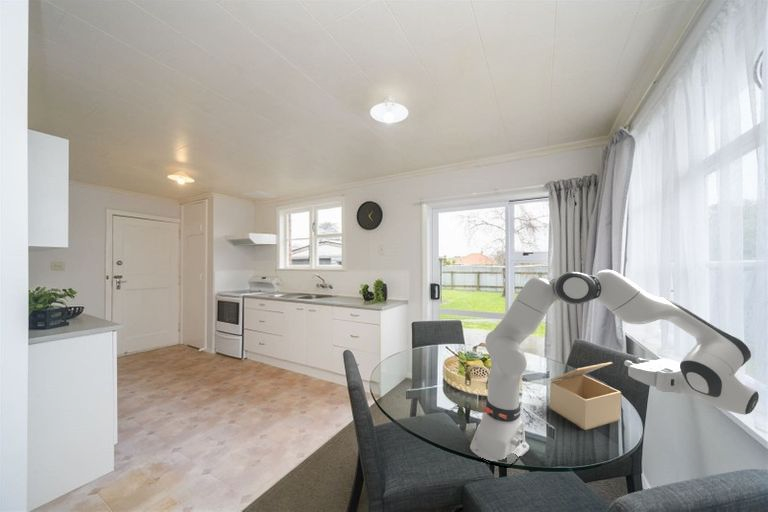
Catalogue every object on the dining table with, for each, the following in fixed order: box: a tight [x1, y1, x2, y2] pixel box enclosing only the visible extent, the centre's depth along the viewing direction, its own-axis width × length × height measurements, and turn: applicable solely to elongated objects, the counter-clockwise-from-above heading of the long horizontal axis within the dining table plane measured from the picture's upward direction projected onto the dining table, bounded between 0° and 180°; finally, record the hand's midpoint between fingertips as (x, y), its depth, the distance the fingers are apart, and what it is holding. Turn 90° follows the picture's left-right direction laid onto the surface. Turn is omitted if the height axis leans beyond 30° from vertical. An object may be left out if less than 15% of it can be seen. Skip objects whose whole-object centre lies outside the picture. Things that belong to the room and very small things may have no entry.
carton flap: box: [549, 361, 613, 382], centre depth 126 cm, size 16×20×1 cm
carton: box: [549, 374, 622, 431], centre depth 125 cm, size 16×20×12 cm
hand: (631, 361), depth 107 cm, fingers open, 5 cm apart
